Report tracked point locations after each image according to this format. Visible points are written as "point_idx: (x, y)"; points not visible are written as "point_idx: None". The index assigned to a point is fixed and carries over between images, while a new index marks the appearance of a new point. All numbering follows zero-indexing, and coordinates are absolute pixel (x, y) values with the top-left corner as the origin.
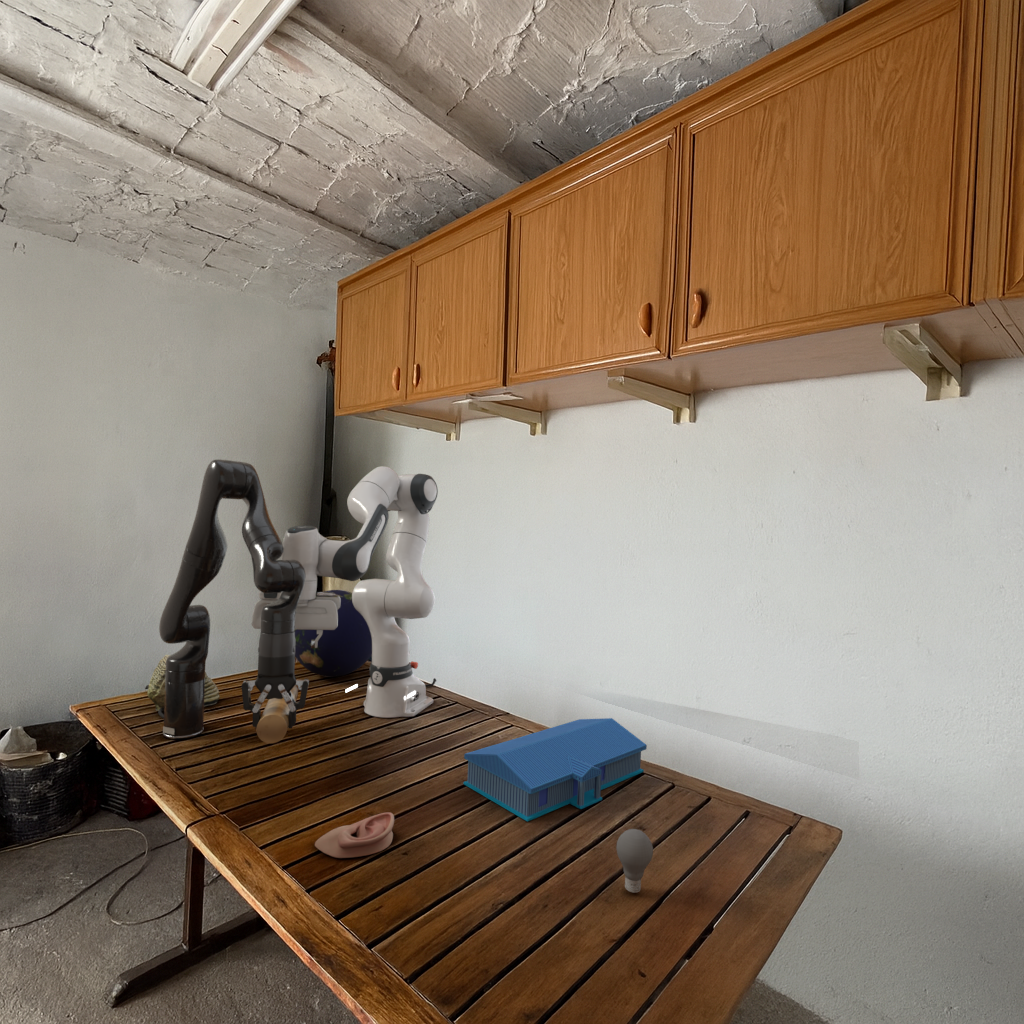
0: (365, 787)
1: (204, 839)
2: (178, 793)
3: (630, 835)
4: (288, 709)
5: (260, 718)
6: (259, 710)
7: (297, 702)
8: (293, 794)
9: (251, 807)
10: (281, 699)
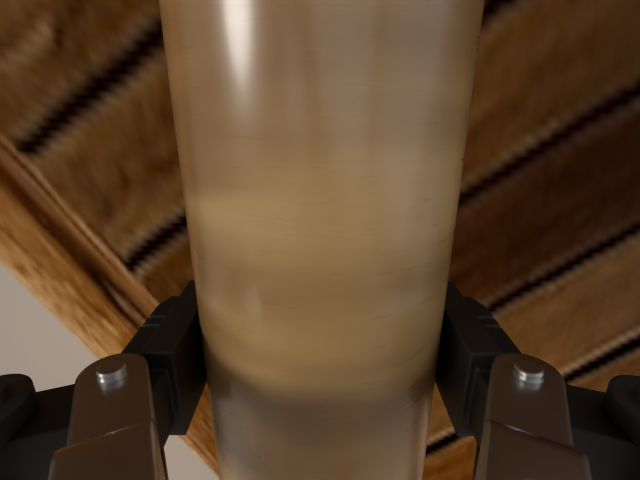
0: (627, 264)
1: (208, 458)
2: (27, 226)
3: None
4: (445, 261)
5: (216, 439)
6: (166, 388)
7: (590, 451)
8: None
9: None
10: (366, 97)
